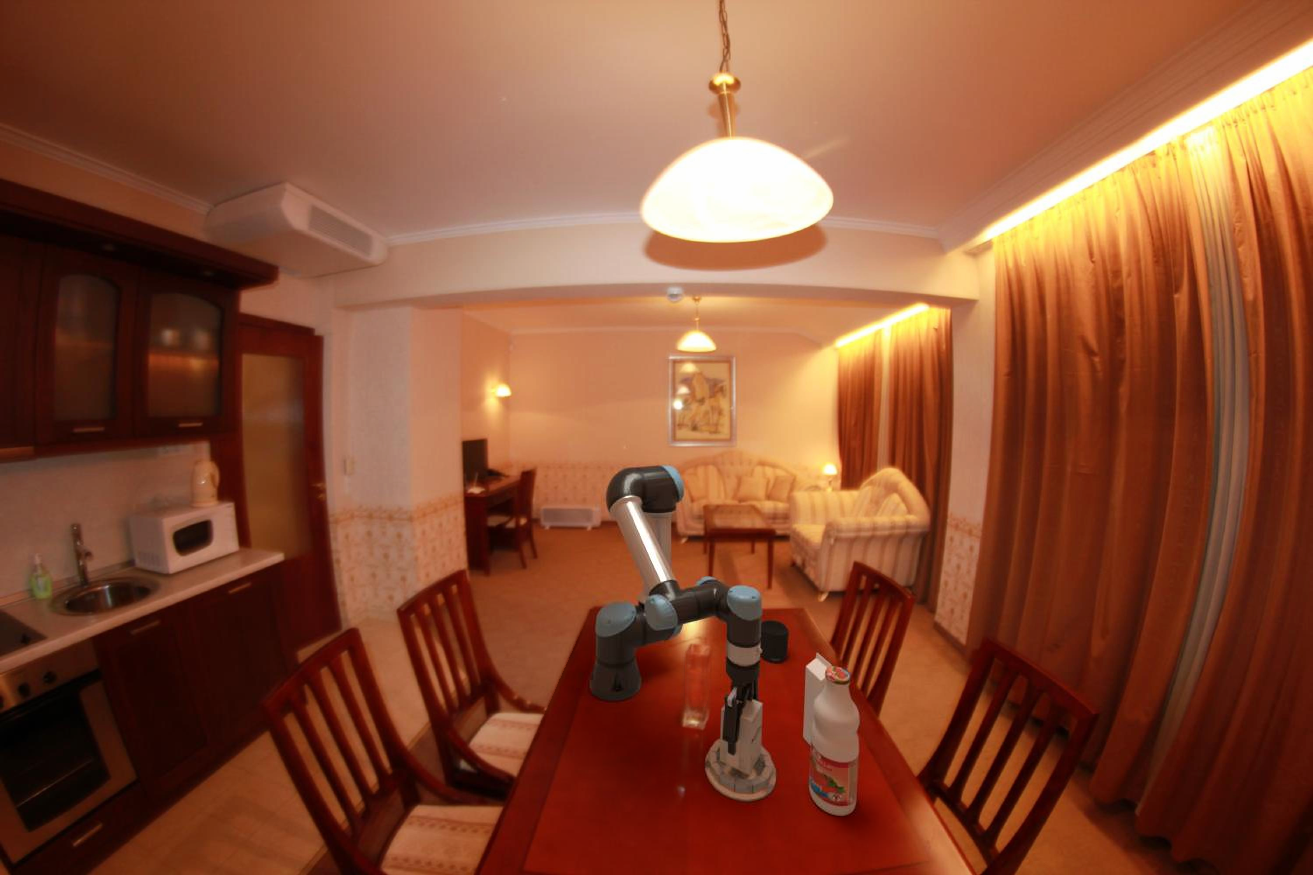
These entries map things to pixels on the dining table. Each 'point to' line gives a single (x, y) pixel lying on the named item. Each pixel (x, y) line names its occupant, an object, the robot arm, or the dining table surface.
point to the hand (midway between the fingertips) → (740, 752)
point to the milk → (813, 691)
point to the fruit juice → (834, 746)
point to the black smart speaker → (774, 641)
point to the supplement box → (746, 736)
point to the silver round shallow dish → (741, 776)
